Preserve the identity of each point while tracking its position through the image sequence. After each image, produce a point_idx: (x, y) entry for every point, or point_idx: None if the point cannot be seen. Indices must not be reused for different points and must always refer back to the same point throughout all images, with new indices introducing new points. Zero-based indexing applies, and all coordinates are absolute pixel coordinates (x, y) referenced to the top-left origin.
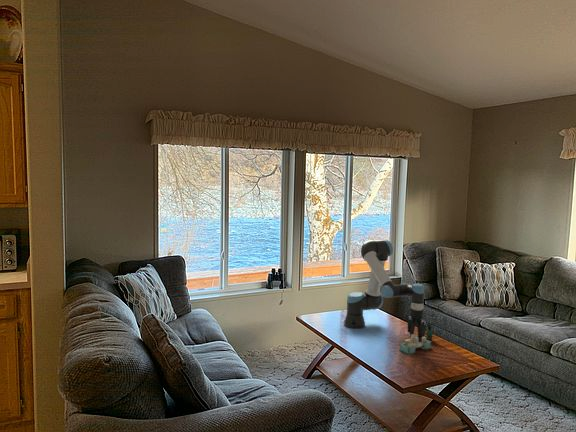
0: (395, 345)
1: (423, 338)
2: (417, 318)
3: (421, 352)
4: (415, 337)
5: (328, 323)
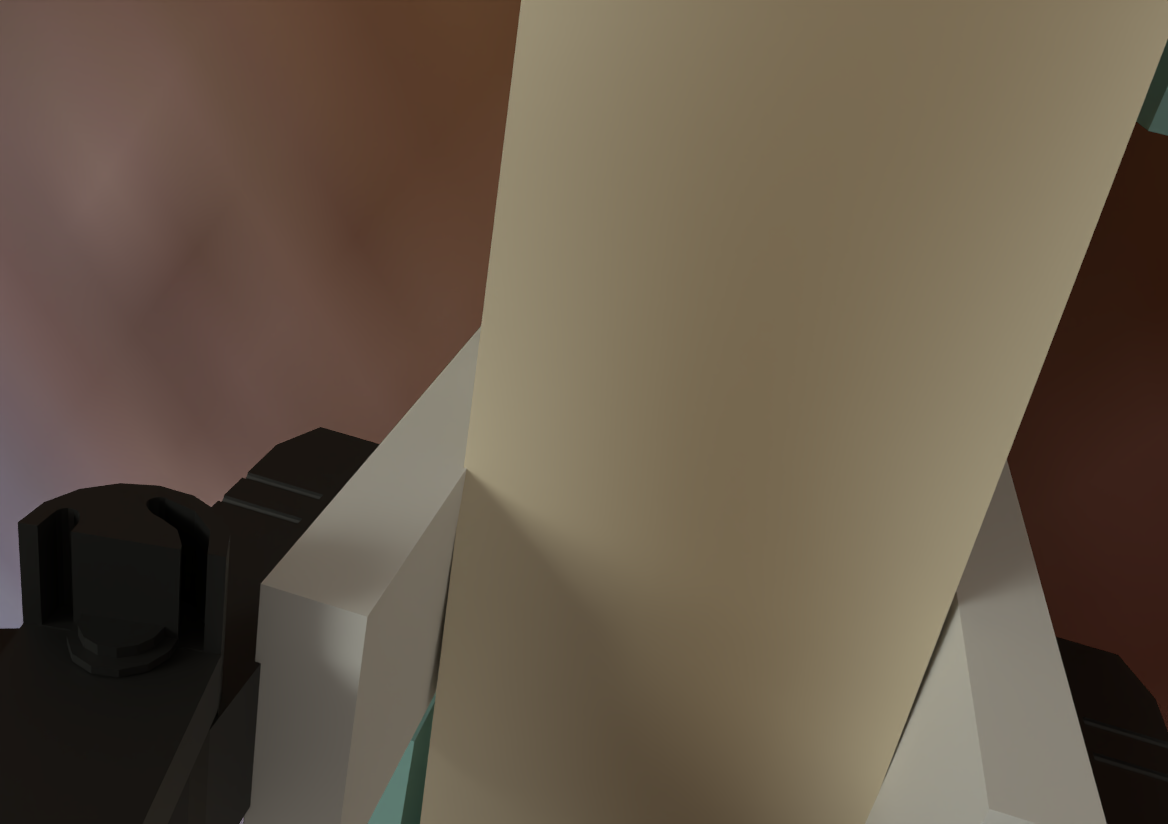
0: (51, 492)
1: (1124, 104)
2: None
3: (1102, 512)
4: (546, 492)
5: None
